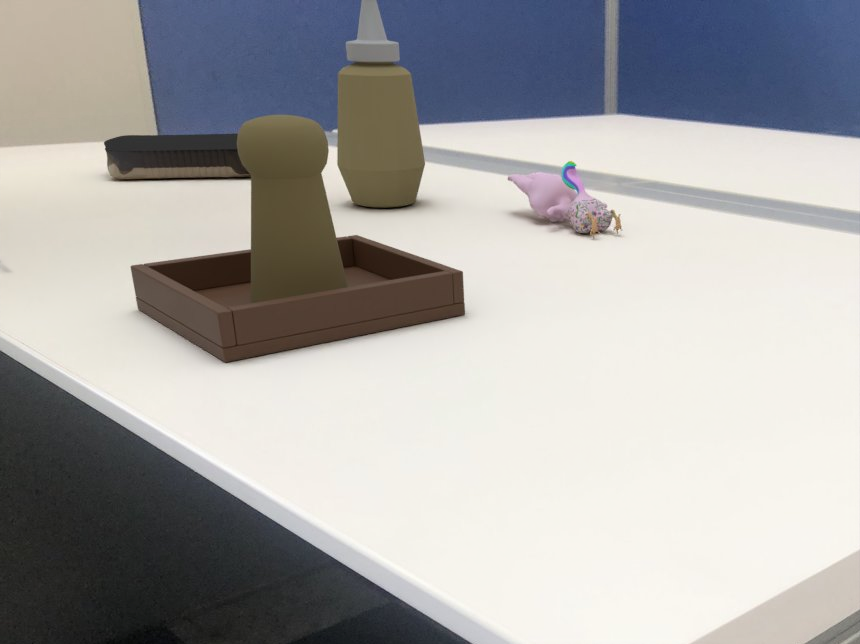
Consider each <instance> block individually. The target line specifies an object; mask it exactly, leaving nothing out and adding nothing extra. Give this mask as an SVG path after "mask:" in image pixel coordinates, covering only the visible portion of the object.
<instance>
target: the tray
mask: <svg viewBox="0 0 860 644" xmlns="http://www.w3.org/2000/svg"><path fill="white" fill-rule="evenodd" d="M336 238H337V242H338V247H339V251H340V255H341V259H342V264H343V268H344V272H345V277H346V281H347V285H348V287H346V288H341V289H335V290H329V291H323V292H317V293H311V294H305V295H299V296H293V297H287V298H281V299H275V300H269V301H263V302H257V303H251V248H250V249H249V248H248V249H243V250H235V251H228V252H219V253H213V254H206V255H205V254H204V255H198V256H191V257H184V258H177V259H168V260H161V261H160V260H159V261H153V262H147V263H140V264H139V263H138V264H133V265H130V273H131V277H132V284H133V288H134V295H135V301H136V306H137V310H139V311H141V312H142V313H144V314H145V315H147V316H149V317H150V318H152V319H153V320H155V321H156V322H158V323H160V324H162V325H163V326H164V327H166V328H168V329H170V330H171V331H173V332H175V333H176V334H178V335H180V336H181V337H183V338H185V339H186V340H188V341H189V342H191V343H193V344H194V345H196V346H198V347H199V348H200V349H203V350H204V351H206V352H207V353H209V354H210V355H213V356H214V357H216V358H217V359H219V360H220V361H222V362H224V363H228V362H229V363H230V362H234V361H239V360H244V359H249V358H254V357H260V356H263V355H269V354H274V353H279V352H283V351H289V350H293V349H300V348H303V347H309V346H314V345H319V344H320V345H321V344H325V343H329V342H334V341H340V340H345V339H349V338H354V337H359V336H365V335H368V334H374V333H379V332H385V331H389V330H394V329H400V328H405V327H409V326H414V325H418V324H419V325H420V324H423V323H429V322H434V321H438V320H439V321H441V320H444V319H449V318H454V317H460V316H464V315H466V306H465V305H466V304H465V289H464V287H465V286H464V271H463V270H460V269H456V268H454V267H452V266H448V265H446V264H442V263H440V262H437V261H434V260H431V259H427V258H425V257H422V256H419V255H416V254H413V253H410V252H407V251H405V250H403V249H402V250H401V249H399V248H396V247H393V246H390V245H387V244H384V243H381V242H378V241H375V240H372V239H370V238H367V237H364V236H361V235H358V234H352V235H346V236H338V237H337V236H336Z"/></svg>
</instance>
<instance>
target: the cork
mask: <svg viewBox="0 0 860 644" xmlns="http://www.w3.org/2000/svg"><path fill="white" fill-rule="evenodd" d="M237 134H238V136H237V149H238V155H239V157H240V160H241V162H242V165H243V166H244V167H245V168H246V170H247V171H248V172H249V173H250V174H251V177H250V249H251V303H257V302H263V301H269V300H275V299H281V298H287V297H293V296H299V295H305V294H311V293H317V292H323V291H329V290H335V289H341V288H346V287H348V285H347V281H346V277H345V272H344V268H343V264H342V259H341V255H340V251H339V247H338V242H337V234H336V231H335V226H334V222H333V217H332V213H331V208H330V203H329V201H328V195H327V192H326V188H325V187H326V186H325V182H324V179H323V174H322V173H323V171H324V169H325V167H326V166H327V164H328V159H329V151H330V150H329V140H328V137H327V135H326V134H327V133H326V132H325V130H324V129H323V127H322V126H321V124H320V123H318V122H317V121H315V120H314V119H311V118H308V117H305V116H299V115H293V114H269V115H263V116H258V117H255V118H252V119H248V120H246V121H245V122H244V123H242V124H241V126H240V128H239V130H238V132H237Z"/></svg>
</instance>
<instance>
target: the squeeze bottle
mask: <svg viewBox="0 0 860 644" xmlns="http://www.w3.org/2000/svg"><path fill="white" fill-rule="evenodd" d="M359 11H360V12H359V20H358V28H357V37H356V39H354V40H348V41H346V42H345V51H346V60H347V61H349V62H353V63H351V64H348V65H346V66H344V67H342V68H341V69H340V70H339V71H338V72H337V145H336V146H337V149H336V151H337V152H336V153H337V160H336V161H337V162H336V163H337V168H338V170H339V172H340V175H341V177H342V180H343V182H344V184H345V187H346V189H347V192H348V194H349V196H350V199H351V201H352V203H353V204H355V205H357V206H363V207H366V208H374V209H392V208H400V207H404V206H408V205H412V204H414V203H415V202H416V201H417V198H418V194H419V190H420V186H421V182H422V178H423V174H424V170H425V166H426V160H425V154H424V147H423V142H422V141H423V140H422V135H421V128H420V124H419V123H420V122H419V118H418V117H419V116H418V109H417V103H416V96H415V90H414V84H413V78H412V73H411V72H410V71H409V70H408V69H407V68H406V67H403V66H401V65H398V64H396V63H397V62H400V61H401V58H400V43H399V42H398V41H393V40H389V39H388V38H387V33H386V31H385V27H384V23H383V19H382V16H381V13H380V9H379V4H378V2H377V0H361V2H360V10H359Z"/></svg>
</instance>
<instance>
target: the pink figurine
mask: <svg viewBox="0 0 860 644" xmlns="http://www.w3.org/2000/svg"><path fill="white" fill-rule="evenodd" d="M576 167H577V163H575V162H574V161H572V160H569V161H567V162H566V163H565V164H564V165H563V167H562V169H561V174H557V173H548V172H544V171H536V172H532V173H531V172H530V173H529V174H526V175H523V174H521V173H513V174H509V175H508V176H507V181H509V182H512V183H513V184H514V185H515V186H516V187H517V188H518V189H519V191H521V192H522V193H523V194H525V195H526V196H527V198H528V202H529V206H530V208H531V209H532V210H533V211H534V213H536V214H537V215H539V216H541V217H543V218H547V219H548V220H549V221H550V222H552V223H557V222H562V221H564V219H565V220H567V221H569V222H571V225H572V227H573V229H574V230H575V231H576V232H577V233H578V234H581V233H585V234H588V233H589V234H590V236H592V238H593V237H594V238H595V233H596V232H597V233H598V234H601V232H606V230H608V229H609V227H610V226H611V224H612V221H613V218H614V220H615V225H614V227H613V230H612V231H613V232H615V231H616V234H617V235H618V234H619V230H620V231H624V230H623V229H622V224H621V218H620V217H621V215H622V214H621V213H619V214H618V216H617V214H616V211H615V209H610V210H609V209H607V208H608V204H607V203H605V202H602V201H601V200H600V199H598V198H596V197H593V196H592V195H590V194H589V193H587V191H586V188H585V185H584V182H583V181H582V179H581V178H580V176H579V173H578V172H577V169H576Z"/></svg>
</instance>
